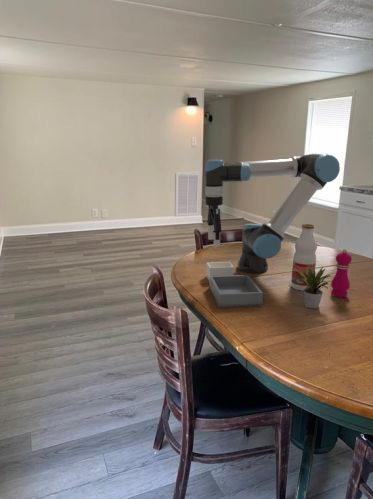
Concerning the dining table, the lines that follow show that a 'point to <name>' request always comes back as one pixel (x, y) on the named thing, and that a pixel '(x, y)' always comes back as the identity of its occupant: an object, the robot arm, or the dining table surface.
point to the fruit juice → (303, 257)
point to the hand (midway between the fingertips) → (213, 242)
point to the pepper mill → (341, 275)
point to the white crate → (219, 269)
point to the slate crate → (235, 291)
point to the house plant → (314, 287)
